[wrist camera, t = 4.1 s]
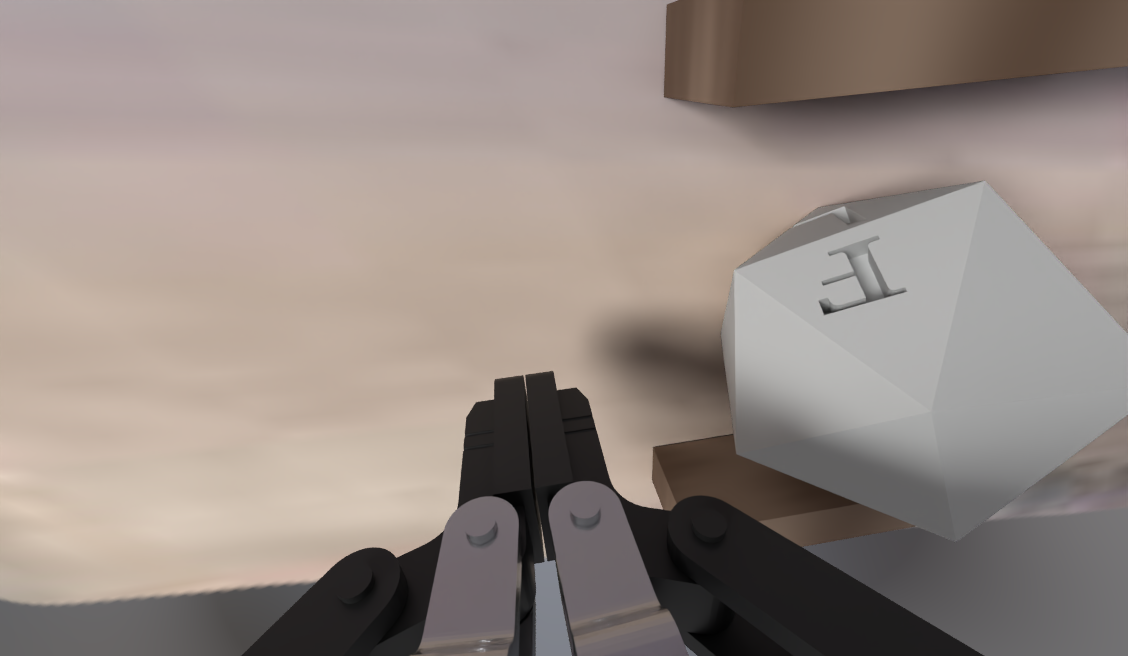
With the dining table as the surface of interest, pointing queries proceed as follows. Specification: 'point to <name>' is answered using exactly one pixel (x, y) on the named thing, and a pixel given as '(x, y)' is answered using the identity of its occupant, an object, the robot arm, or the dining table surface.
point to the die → (919, 356)
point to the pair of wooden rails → (838, 68)
